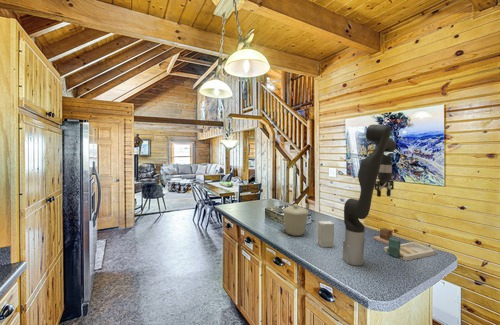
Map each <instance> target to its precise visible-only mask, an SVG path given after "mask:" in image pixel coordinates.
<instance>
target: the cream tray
mask: <svg viewBox="0 0 500 325" xmlns="http://www.w3.org/2000/svg"><path fill="white" fill-rule="evenodd" d="M404 246H405V247H407V248H410V249H412V250H414V251H417V253H412V254H408V255H403V258H401V257H397V258H398V259H400V260H403V261H405V262H408V261H413V260H417V258H418V259H422V258H425V257H431V256H435V255H437V250H436V249H434V248H432V247H428V246H426V245H423V244H420V243H418V242H414V241H412V242H405V243H400V247H404ZM388 248H389V245H388V246H384V247H383V251H384V252H385V253H388Z"/></svg>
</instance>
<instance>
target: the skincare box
mask: <svg viewBox="0 0 500 325" xmlns="http://www.w3.org/2000/svg"><path fill="white" fill-rule="evenodd" d="M317 223H318V224H317V225H318V227H317V231H318V232H317V244H318V245H319V246H320V248H334V247H335V246H334V245H335V242H334V241H335V223H334V222H333V221H332V220H320V221H319V220H318V222H317Z"/></svg>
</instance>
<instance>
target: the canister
mask: <svg viewBox="0 0 500 325" xmlns="http://www.w3.org/2000/svg"><path fill="white" fill-rule="evenodd" d="M282 211H283V220H284V221H283V222H284V229H285V232H286V233H287V235H290V236H293V237H294V236H295V237H300V236H303V235H304V234H305V232H306V227H307V221H308V220H307V219H308V214H309V210H308V209H306V208H304V207H301V206H299V205H298V204H297V203H294V204H293V205H292V206H287V207H285V208H283V209H282Z"/></svg>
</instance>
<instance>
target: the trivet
mask: <svg viewBox="0 0 500 325" xmlns="http://www.w3.org/2000/svg"><path fill="white" fill-rule="evenodd" d="M373 239H374V240H376V241H379V242H380V243H383V244H385V243H386V244H385V245H389V240H387V241H386V240H384V239H381V238H380V235H377V236H373Z"/></svg>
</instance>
